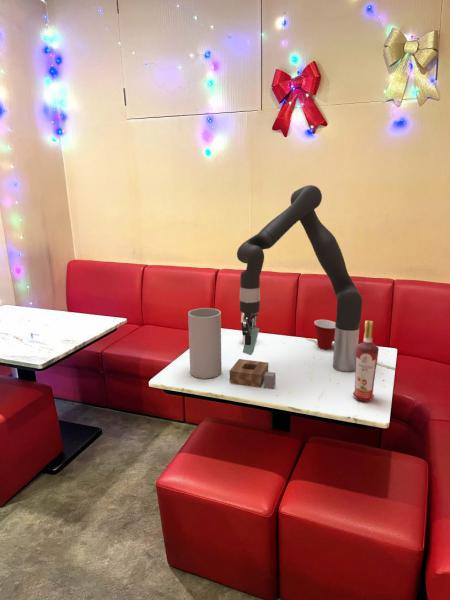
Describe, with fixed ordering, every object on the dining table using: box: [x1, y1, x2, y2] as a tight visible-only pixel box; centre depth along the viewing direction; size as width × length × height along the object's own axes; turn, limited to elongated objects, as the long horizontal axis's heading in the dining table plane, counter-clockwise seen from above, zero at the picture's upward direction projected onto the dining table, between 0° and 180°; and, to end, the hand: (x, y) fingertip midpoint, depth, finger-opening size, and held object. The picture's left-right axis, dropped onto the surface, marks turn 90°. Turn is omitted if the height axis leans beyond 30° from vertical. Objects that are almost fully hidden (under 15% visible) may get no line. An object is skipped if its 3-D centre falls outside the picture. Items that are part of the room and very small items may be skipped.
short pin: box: [263, 371, 276, 390], centre depth 158 cm, size 3×3×5 cm
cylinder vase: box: [187, 307, 222, 380], centre depth 167 cm, size 12×12×25 cm
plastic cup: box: [313, 319, 336, 351], centre depth 194 cm, size 11×11×12 cm
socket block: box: [229, 358, 269, 388], centre depth 164 cm, size 12×12×5 cm
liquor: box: [352, 320, 380, 402], centre depth 145 cm, size 7×7×28 cm
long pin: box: [242, 326, 260, 356], centre depth 161 cm, size 3×3×10 cm
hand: (249, 342), depth 161 cm, fingers closed on long pin, 3 cm apart
